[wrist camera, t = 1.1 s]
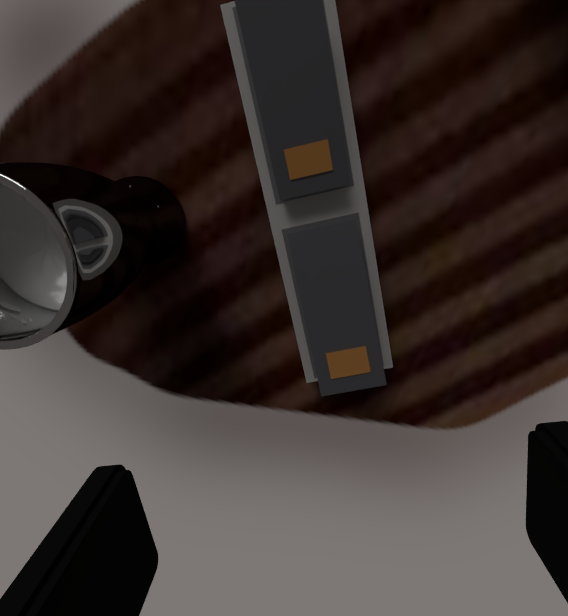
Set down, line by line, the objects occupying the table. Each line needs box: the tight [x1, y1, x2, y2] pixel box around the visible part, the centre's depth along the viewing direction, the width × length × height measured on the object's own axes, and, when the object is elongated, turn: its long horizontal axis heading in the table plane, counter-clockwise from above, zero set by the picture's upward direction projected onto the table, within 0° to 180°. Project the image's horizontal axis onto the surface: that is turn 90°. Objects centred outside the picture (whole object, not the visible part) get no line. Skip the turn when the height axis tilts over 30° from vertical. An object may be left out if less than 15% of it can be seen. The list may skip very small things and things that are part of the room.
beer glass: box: [0, 162, 185, 349], centre depth 21 cm, size 7×7×15 cm
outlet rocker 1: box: [234, 0, 350, 200], centre depth 21 cm, size 4×10×1 cm, turn 13°
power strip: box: [220, 0, 393, 383], centre depth 26 cm, size 23×6×3 cm, turn 13°
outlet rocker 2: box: [288, 219, 387, 396], centre depth 25 cm, size 4×10×1 cm, turn 12°
